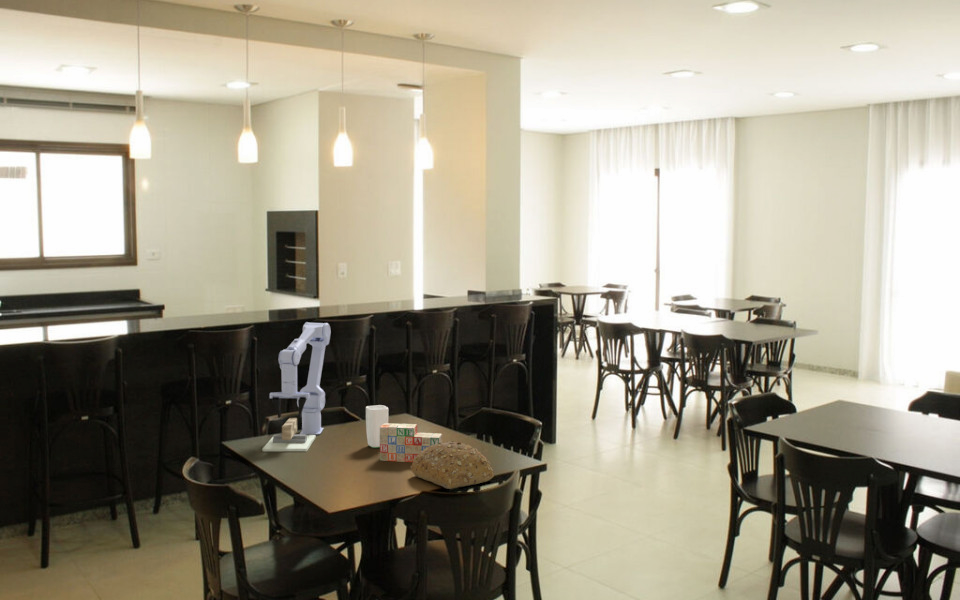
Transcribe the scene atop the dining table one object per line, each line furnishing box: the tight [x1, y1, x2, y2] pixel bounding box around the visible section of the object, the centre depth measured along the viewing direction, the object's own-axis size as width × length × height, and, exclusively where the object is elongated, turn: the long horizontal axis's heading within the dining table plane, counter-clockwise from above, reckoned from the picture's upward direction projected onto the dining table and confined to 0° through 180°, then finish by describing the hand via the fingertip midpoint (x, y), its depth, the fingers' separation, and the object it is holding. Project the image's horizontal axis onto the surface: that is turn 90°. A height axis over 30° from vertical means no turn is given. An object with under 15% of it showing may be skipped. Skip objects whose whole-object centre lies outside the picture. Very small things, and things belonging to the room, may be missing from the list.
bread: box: [410, 440, 495, 490], centre depth 264 cm, size 24×21×12 cm
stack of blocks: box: [379, 422, 443, 463], centre depth 286 cm, size 21×6×12 cm, turn 82°
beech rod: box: [281, 417, 298, 440], centre depth 305 cm, size 14×3×5 cm, turn 2°
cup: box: [365, 404, 389, 449], centre depth 303 cm, size 7×7×15 cm
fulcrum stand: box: [262, 433, 317, 452], centre depth 305 cm, size 20×16×4 cm
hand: (289, 417), depth 305 cm, fingers open, 7 cm apart
